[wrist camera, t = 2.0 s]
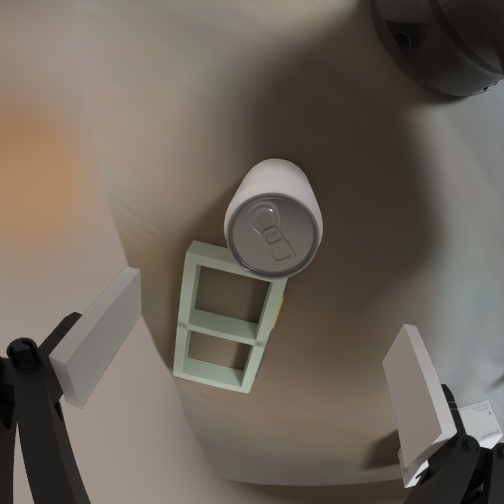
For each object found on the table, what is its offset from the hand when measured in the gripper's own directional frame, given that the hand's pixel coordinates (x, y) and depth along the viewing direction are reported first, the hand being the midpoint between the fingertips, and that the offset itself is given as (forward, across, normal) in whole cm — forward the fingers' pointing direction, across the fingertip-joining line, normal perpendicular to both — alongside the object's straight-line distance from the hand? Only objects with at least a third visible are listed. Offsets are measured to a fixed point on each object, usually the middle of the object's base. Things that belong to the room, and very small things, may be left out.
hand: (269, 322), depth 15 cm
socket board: (+17, -4, -14) cm, 23 cm away
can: (+18, -1, +2) cm, 18 cm away
